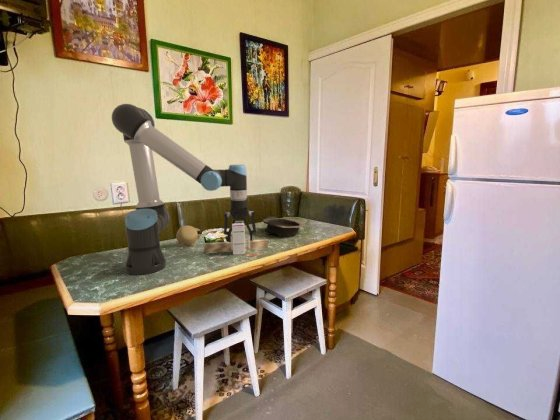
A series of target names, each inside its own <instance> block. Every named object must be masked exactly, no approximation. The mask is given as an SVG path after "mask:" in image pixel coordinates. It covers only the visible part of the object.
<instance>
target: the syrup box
mask: <svg viewBox="0 0 560 420" xmlns="http://www.w3.org/2000/svg"><path fill="white" fill-rule="evenodd" d="M245 228H246V226H245V222H244V220H236V221H235V223H233V224H232V232H231V234H232V242H233V251H232V255H236V256H237V255H246V250H245V241H246V231H245Z"/></svg>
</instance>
